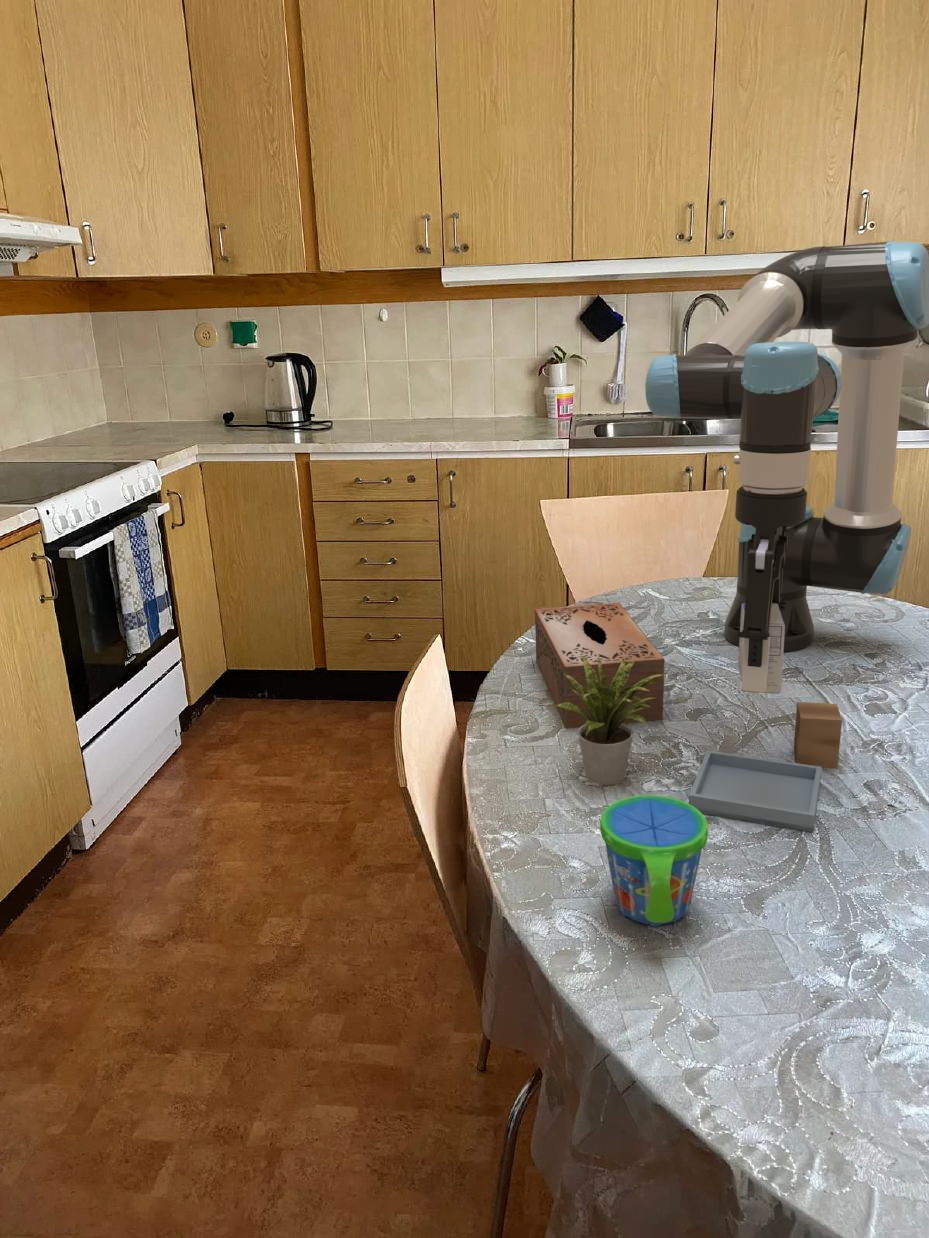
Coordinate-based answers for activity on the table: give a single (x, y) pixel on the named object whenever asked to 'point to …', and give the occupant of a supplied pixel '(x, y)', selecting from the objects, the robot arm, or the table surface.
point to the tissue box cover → (596, 656)
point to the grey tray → (757, 790)
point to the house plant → (607, 722)
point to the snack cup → (653, 855)
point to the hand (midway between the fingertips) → (759, 675)
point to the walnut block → (817, 734)
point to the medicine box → (774, 650)
